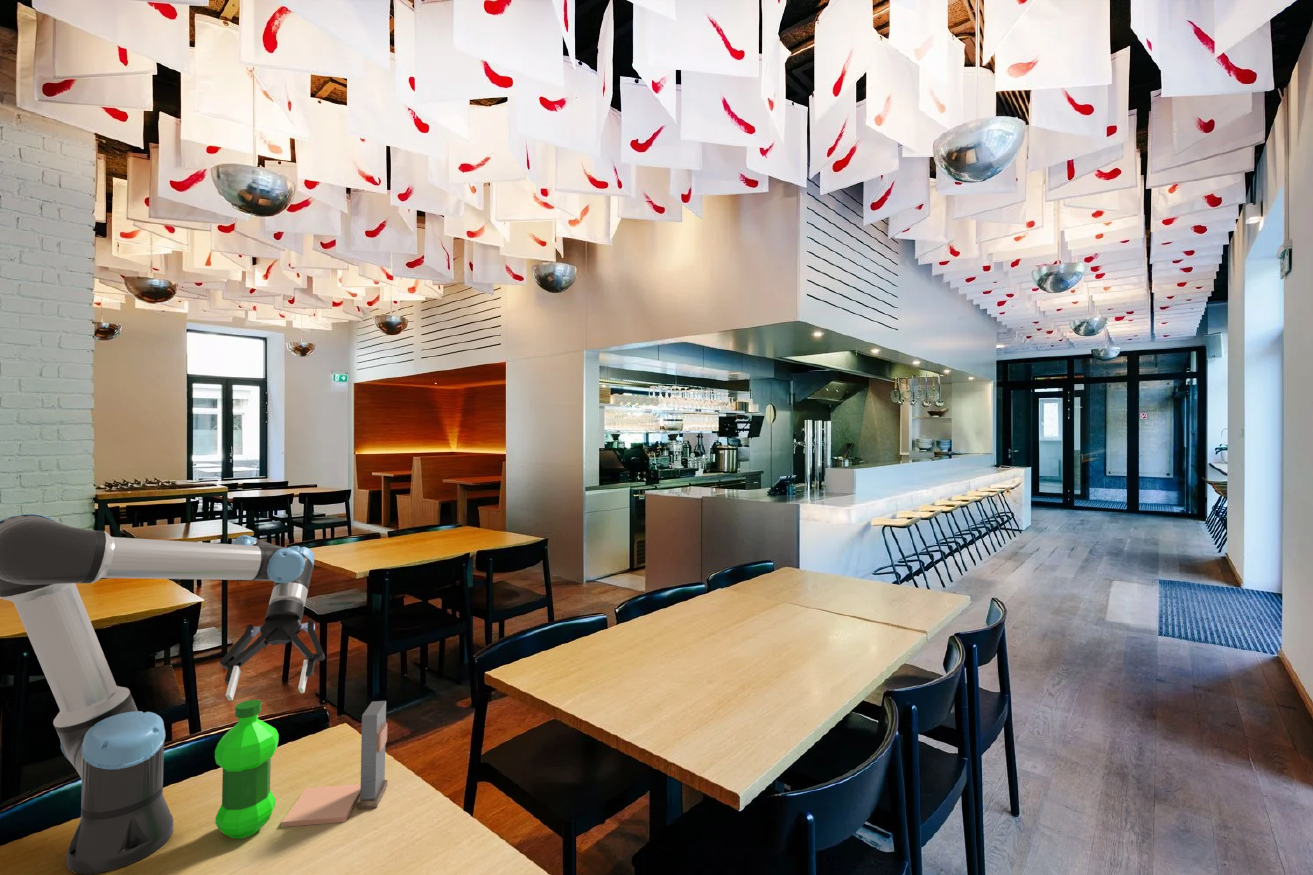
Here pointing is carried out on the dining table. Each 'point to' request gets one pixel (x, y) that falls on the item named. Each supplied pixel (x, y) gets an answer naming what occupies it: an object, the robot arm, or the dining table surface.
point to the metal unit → (373, 755)
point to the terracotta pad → (323, 805)
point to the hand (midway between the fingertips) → (265, 694)
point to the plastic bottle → (246, 772)
